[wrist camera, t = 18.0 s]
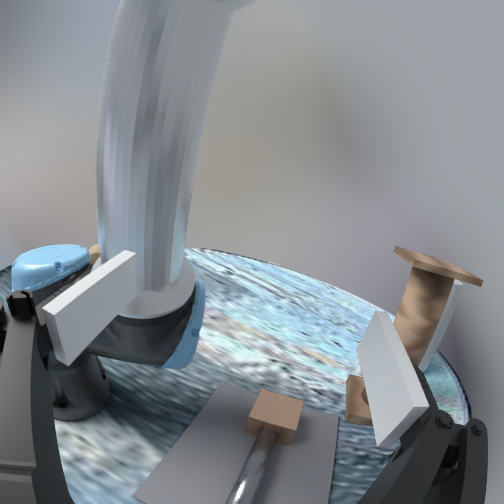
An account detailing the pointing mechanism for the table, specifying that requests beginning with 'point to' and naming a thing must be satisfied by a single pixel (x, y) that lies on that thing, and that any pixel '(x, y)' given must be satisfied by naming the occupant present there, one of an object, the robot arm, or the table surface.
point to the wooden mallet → (264, 441)
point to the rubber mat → (243, 457)
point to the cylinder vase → (441, 325)
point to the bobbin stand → (412, 319)
